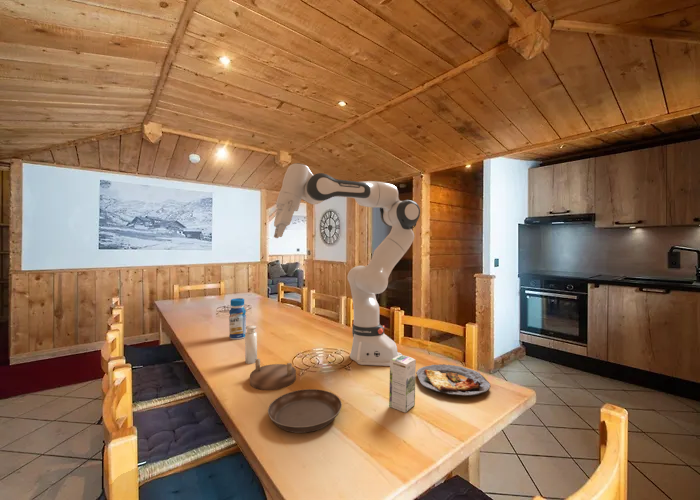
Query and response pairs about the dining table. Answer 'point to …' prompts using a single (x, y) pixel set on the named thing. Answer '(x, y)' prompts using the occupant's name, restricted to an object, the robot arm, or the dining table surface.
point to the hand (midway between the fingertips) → (277, 237)
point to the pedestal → (272, 376)
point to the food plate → (452, 380)
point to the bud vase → (250, 345)
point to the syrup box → (402, 383)
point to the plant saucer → (304, 410)
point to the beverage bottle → (237, 319)
